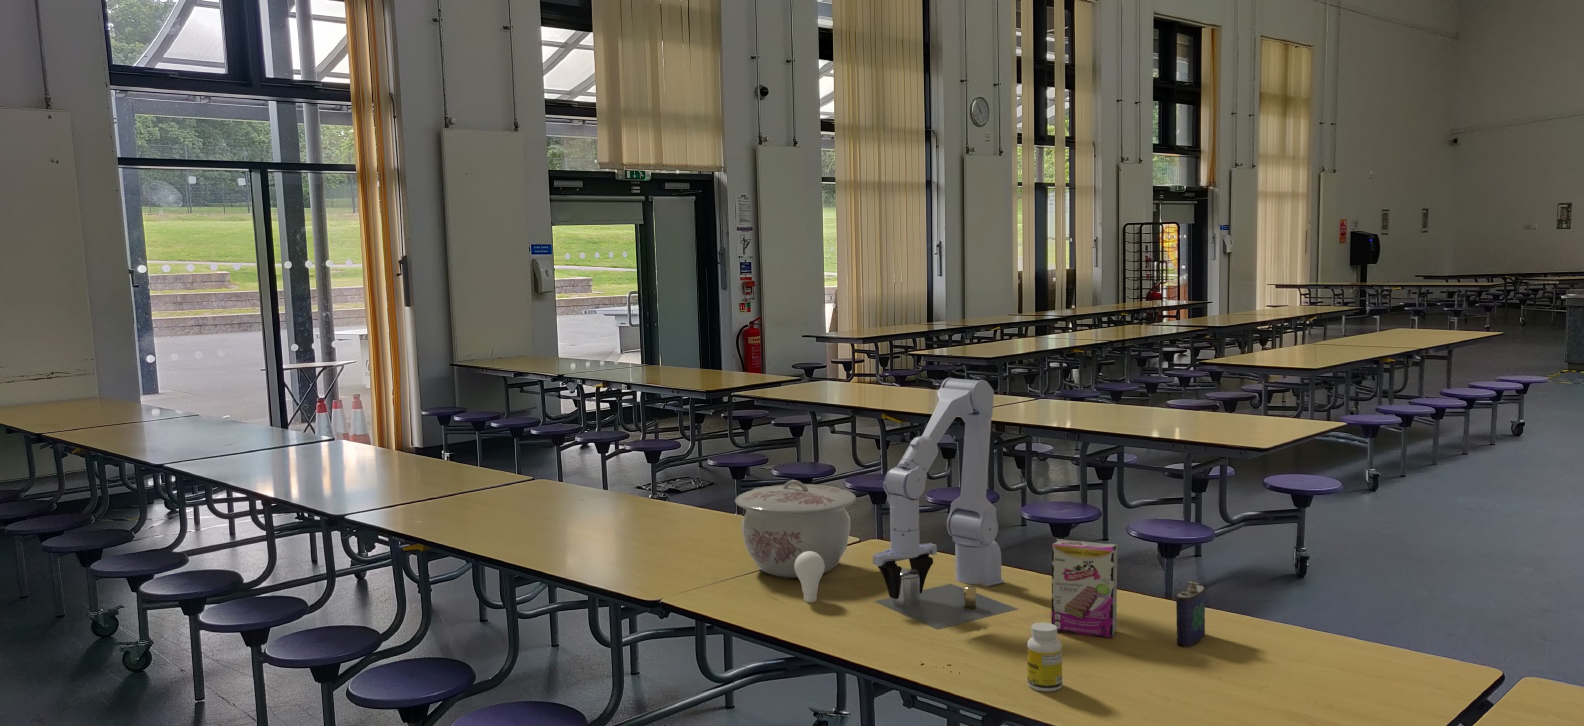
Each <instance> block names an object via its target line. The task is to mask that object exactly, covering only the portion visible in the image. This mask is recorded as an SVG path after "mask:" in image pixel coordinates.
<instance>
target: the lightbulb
mask: <svg viewBox="0 0 1584 726" xmlns="http://www.w3.org/2000/svg"><path fill="white" fill-rule="evenodd" d="M794 569H795V572H796V574H797V576H798V578H797V579H799V581H800V584H801V590H802V591H801V592H802V593H803V601H804V602H806V603H814V602H816V601H817V600H818V599H817V598H818V597H817V595H818V594H817V593H818V591H819V584H820V580H821V578H822V577H823V574H824V573H823V572H824V569H825V564H824V561H823V559H822V557H821V556H820V555H819V554H817V553H816V552H813V551H806V552H803V553H802V554H800V555H799V556H798V557H797V559H796V561H795V565H794Z"/></svg>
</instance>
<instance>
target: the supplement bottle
mask: <svg viewBox="0 0 1584 726" xmlns="http://www.w3.org/2000/svg"><path fill="white" fill-rule="evenodd" d="M1057 637H1058V631H1057V627H1056V626H1055V625H1053V624H1051V622H1050V623H1049V622H1035V623H1033V624H1032V625H1031V637H1030V638H1029V639H1028V640H1027V642H1026V643H1027V644H1026V645H1027V646H1026V650H1027V651H1026V652H1027V653H1026V657H1027V658H1026V659H1027V660H1026V661H1027V662H1026V663H1027V684H1028V686H1029V687H1030V688H1031V689H1033V690H1035V691H1037V692H1043V693H1044V692H1046V693H1050V692H1055V691H1058V690H1061V688H1062V686H1063V645H1062V642H1061V640H1060V639H1058V638H1057Z"/></svg>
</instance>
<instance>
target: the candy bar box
mask: <svg viewBox="0 0 1584 726" xmlns="http://www.w3.org/2000/svg"><path fill="white" fill-rule="evenodd" d="M1117 581H1118V544H1115V543H1104V542H1103V543H1102V542H1092V541H1085V540H1084V541H1083V540H1073V539H1072V540H1071V539H1062V538H1056V540H1055V541H1054V542H1052V547H1051V621H1050V624H1053V625H1055V626H1056V627H1057V632H1061V633H1068V634H1069V633H1070V634H1076V635H1077V634H1078V635H1085V636H1091V637H1092V636H1093V637H1100V638H1108V639H1109V638H1110V639H1113V638H1114V635H1115V633H1116V631H1117V619H1118V618H1117V607H1118V606H1117V604H1118V603H1117V601H1118V600H1117V599H1118V598H1117V597H1118V595H1117V593H1118V589H1117V588H1118V582H1117Z"/></svg>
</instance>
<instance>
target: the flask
mask: <svg viewBox="0 0 1584 726" xmlns="http://www.w3.org/2000/svg"><path fill="white" fill-rule="evenodd" d="M1186 583H1188V584H1189V586H1188V587H1187V588H1186V589H1187V590H1185V591H1180V593H1179V592H1178V593H1177V595H1176V597H1175V598H1176V599H1175V600H1176V601H1175V603H1176V605H1175V606H1176V607H1175V608H1176V646H1177V647H1180V648H1185V649H1186V648H1191V647H1194V646H1196V645H1197V644H1199V643H1200V642H1201V641H1202V640H1203V639H1204V638H1205V636H1206V629H1205V627H1206V625H1205V624H1206V620H1205V619H1206V618H1205V617H1206V615H1205V613H1206V601H1205V600H1206V587H1204V586H1203V585H1200V582H1194V581H1191V580H1188V581H1187V582H1186ZM1202 638H1203V639H1202Z"/></svg>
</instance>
